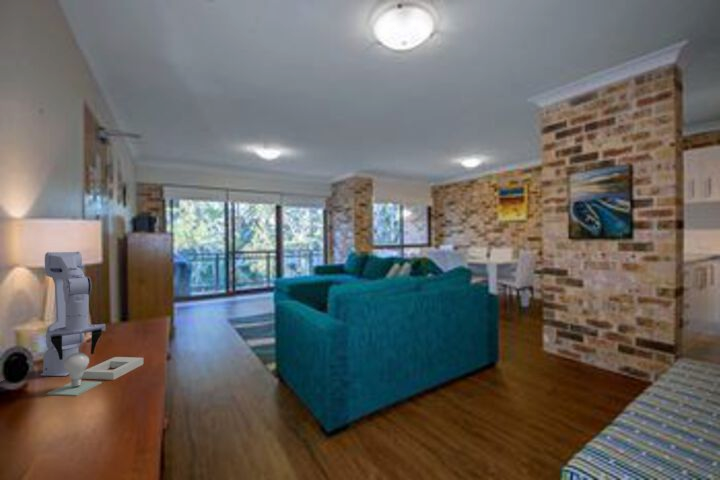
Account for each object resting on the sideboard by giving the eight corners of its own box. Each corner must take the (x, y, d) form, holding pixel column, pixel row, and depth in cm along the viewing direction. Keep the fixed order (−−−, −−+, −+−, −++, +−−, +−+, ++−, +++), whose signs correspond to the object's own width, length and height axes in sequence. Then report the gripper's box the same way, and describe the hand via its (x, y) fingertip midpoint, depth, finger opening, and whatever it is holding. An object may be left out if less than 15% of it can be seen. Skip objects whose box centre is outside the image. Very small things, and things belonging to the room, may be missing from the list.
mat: (46, 394, 101) (46, 393, 101) (74, 381, 110) (74, 380, 110) (76, 395, 100) (76, 394, 100) (101, 383, 109) (101, 381, 109)
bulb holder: (82, 378, 112) (82, 371, 112) (115, 363, 126) (115, 356, 126) (113, 379, 112) (113, 372, 112) (143, 364, 126) (143, 357, 126)
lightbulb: (71, 392, 102) (71, 357, 102) (58, 389, 104) (58, 355, 103) (93, 383, 108) (94, 350, 108) (80, 381, 110) (81, 348, 110)
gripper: (45, 320, 98) (45, 365, 98) (106, 313, 107) (105, 354, 107) (47, 316, 103) (46, 358, 103) (104, 309, 113) (104, 348, 113)
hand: (77, 356), depth 106 cm, fingers open, 7 cm apart
